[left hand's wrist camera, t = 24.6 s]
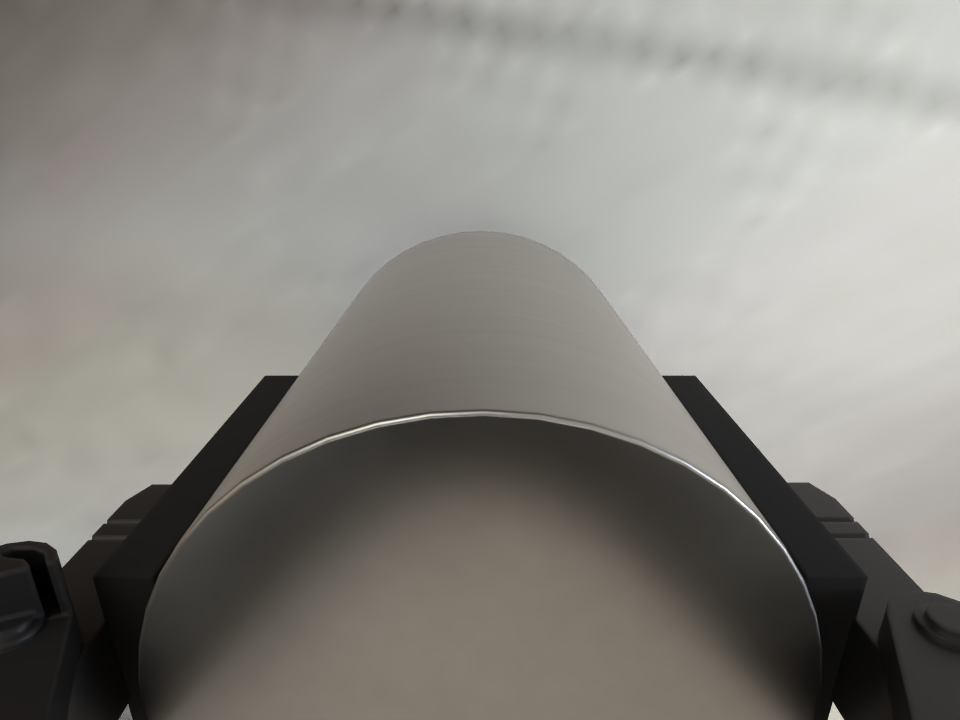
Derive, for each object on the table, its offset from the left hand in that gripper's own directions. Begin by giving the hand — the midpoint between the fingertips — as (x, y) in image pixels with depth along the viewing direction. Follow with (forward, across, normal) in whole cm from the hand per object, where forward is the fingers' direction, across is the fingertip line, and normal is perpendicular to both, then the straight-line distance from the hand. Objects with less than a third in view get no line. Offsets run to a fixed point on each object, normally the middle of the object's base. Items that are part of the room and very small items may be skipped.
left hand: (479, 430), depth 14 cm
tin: (+3, 0, 0) cm, 3 cm away
